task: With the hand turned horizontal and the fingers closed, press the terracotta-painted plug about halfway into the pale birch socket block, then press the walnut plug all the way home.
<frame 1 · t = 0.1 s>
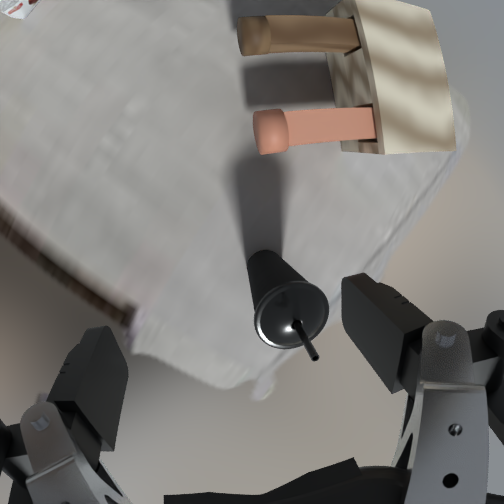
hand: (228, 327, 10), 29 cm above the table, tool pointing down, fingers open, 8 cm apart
drinking cup: (264, 266, 41), on the table
terracotta plug: (332, 125, 29), point 7 cm above the table, slide at 0.0 cm
socket block: (368, 83, 35), on the table
walnut plug: (315, 34, 26), point 7 cm above the table, slide at 0.0 cm
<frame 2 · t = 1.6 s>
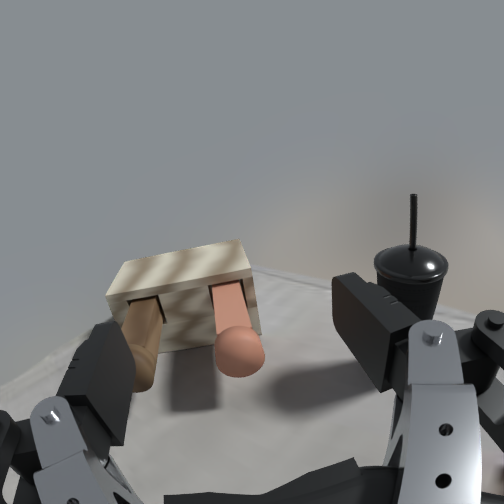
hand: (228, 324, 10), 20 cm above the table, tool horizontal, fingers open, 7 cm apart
drinking cup: (396, 366, 31), on the table
terracotta plug: (231, 314, 34), point 7 cm above the table, slide at 0.0 cm
socket block: (194, 324, 46), on the table
walnut plug: (142, 330, 33), point 7 cm above the table, slide at 0.0 cm
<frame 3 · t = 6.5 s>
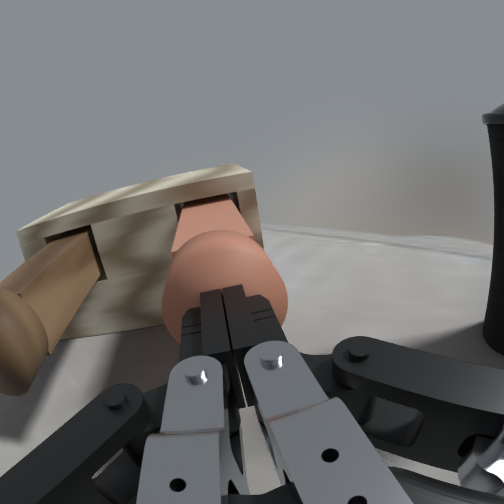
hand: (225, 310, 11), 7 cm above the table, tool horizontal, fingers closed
terracotta plug: (213, 241, 18), point 7 cm above the table, slide at 1.1 cm, touching gripper
socket block: (161, 292, 29), on the table
walnut plug: (52, 281, 16), point 7 cm above the table, slide at 0.0 cm
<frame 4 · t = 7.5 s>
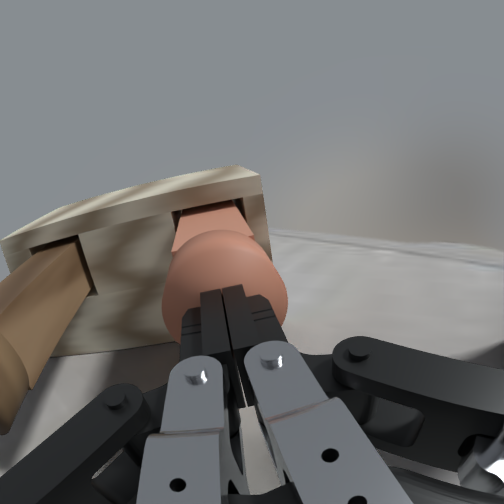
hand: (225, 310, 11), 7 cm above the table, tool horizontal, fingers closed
terracotta plug: (213, 241, 18), point 7 cm above the table, slide at 3.8 cm, touching gripper
socket block: (159, 305, 26), on the table
walnut plug: (35, 300, 14), point 7 cm above the table, slide at 0.0 cm
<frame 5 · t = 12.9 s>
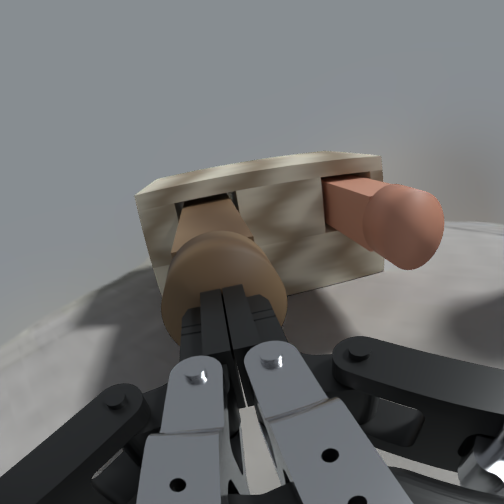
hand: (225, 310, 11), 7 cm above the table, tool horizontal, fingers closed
terracotta plug: (351, 202, 22), point 7 cm above the table, slide at 3.8 cm
socket block: (268, 268, 30), on the table
walnut plug: (213, 242, 18), point 7 cm above the table, slide at 0.5 cm, touching gripper
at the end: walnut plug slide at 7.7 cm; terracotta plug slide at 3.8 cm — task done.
